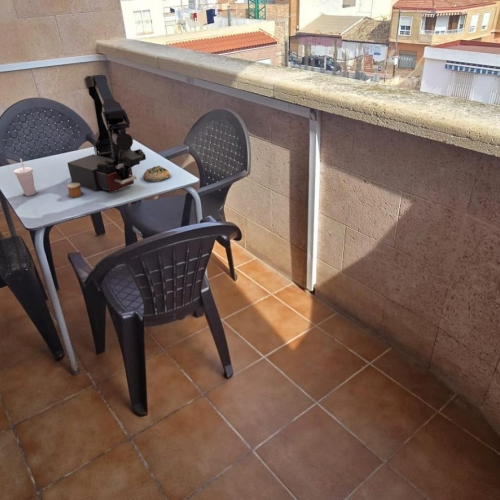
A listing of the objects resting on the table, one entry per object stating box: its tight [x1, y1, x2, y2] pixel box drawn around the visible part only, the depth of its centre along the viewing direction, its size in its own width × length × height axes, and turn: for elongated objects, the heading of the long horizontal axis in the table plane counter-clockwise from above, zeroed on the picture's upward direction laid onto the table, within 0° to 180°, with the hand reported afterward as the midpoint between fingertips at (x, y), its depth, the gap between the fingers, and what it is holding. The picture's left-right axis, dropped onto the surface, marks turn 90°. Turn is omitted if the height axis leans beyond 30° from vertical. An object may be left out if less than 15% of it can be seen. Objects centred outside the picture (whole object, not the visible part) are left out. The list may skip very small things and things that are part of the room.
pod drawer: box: [94, 167, 138, 194], centre depth 168 cm, size 19×11×7 cm, turn 55°
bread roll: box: [142, 165, 170, 182], centre depth 178 cm, size 11×11×5 cm
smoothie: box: [13, 158, 36, 197], centre depth 162 cm, size 6×6×14 cm
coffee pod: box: [66, 182, 83, 198], centre depth 163 cm, size 5×5×4 cm
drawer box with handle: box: [67, 153, 114, 192], centre depth 173 cm, size 16×13×9 cm
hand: (125, 182), depth 164 cm, fingers closed, pressing on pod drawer
